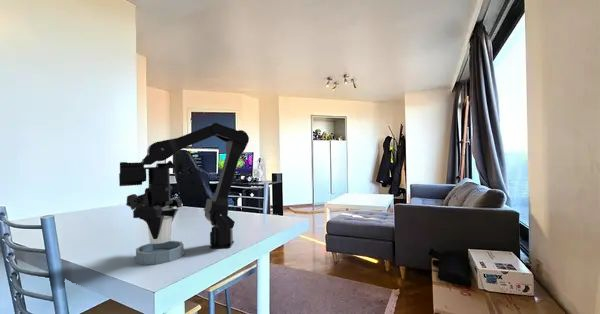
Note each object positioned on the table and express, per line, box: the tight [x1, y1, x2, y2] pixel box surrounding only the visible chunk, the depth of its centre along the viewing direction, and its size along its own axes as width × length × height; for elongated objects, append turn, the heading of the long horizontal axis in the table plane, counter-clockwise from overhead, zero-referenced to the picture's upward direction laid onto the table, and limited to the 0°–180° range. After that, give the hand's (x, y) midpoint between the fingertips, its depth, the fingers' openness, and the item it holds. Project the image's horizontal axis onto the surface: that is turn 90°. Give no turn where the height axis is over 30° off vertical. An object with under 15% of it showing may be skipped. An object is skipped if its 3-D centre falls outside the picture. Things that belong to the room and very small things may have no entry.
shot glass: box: [147, 216, 173, 244], centre depth 87 cm, size 7×7×7 cm
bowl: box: [135, 240, 185, 265], centre depth 87 cm, size 13×13×3 cm
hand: (160, 236), depth 87 cm, fingers closed on shot glass, 6 cm apart
